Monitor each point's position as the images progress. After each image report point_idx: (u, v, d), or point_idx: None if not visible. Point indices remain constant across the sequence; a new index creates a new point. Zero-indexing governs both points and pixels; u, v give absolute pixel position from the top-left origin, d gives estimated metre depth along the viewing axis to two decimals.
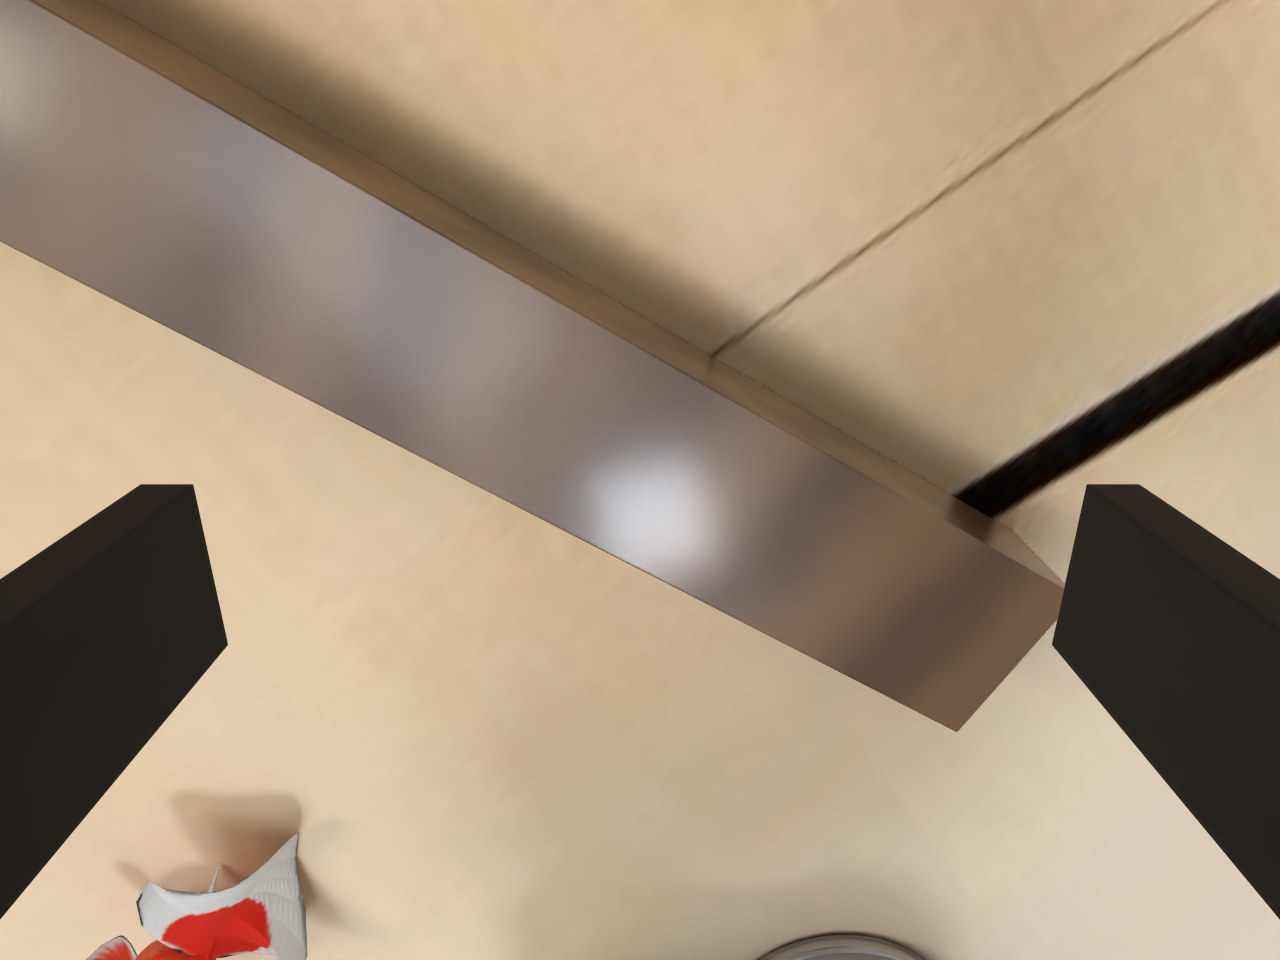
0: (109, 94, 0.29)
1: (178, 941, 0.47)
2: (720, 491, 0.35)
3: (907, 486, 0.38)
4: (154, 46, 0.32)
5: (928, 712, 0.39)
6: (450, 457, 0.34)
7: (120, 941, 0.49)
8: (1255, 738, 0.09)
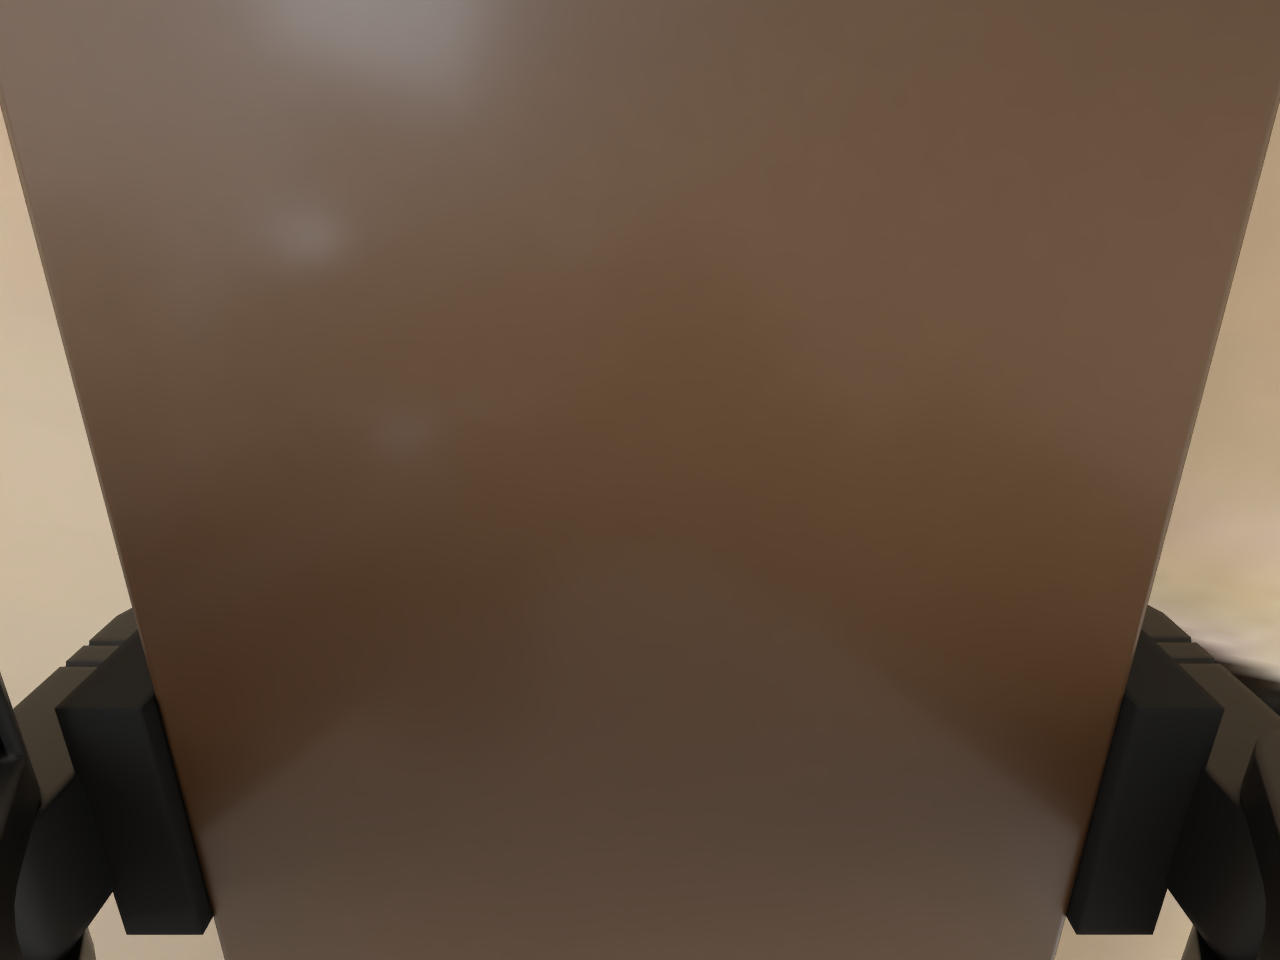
0: None
1: None
2: None
3: None
4: None
5: None
6: None
7: None
8: None
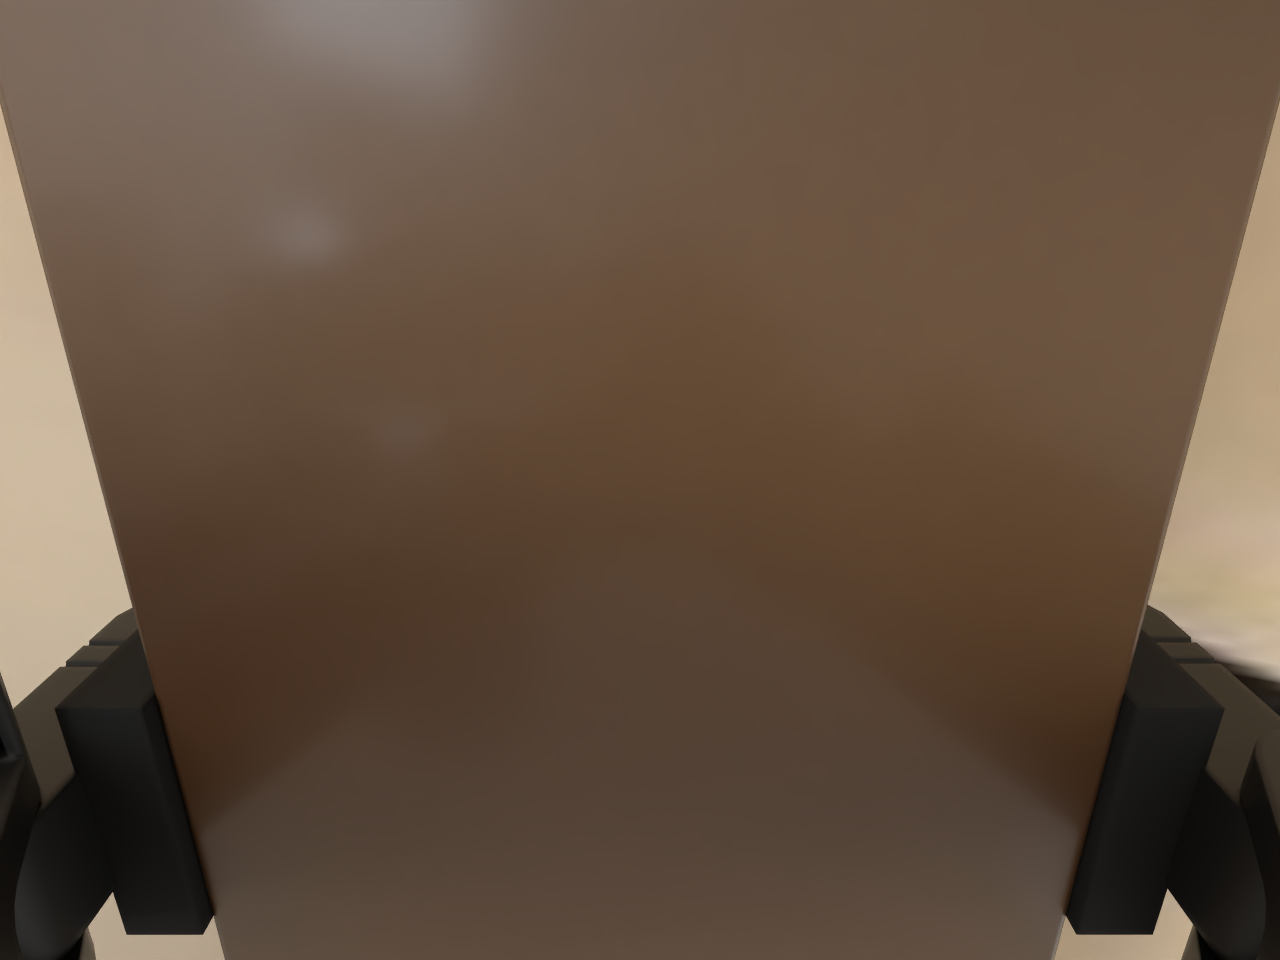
0: None
1: None
2: None
3: None
4: None
5: None
6: None
7: None
8: None
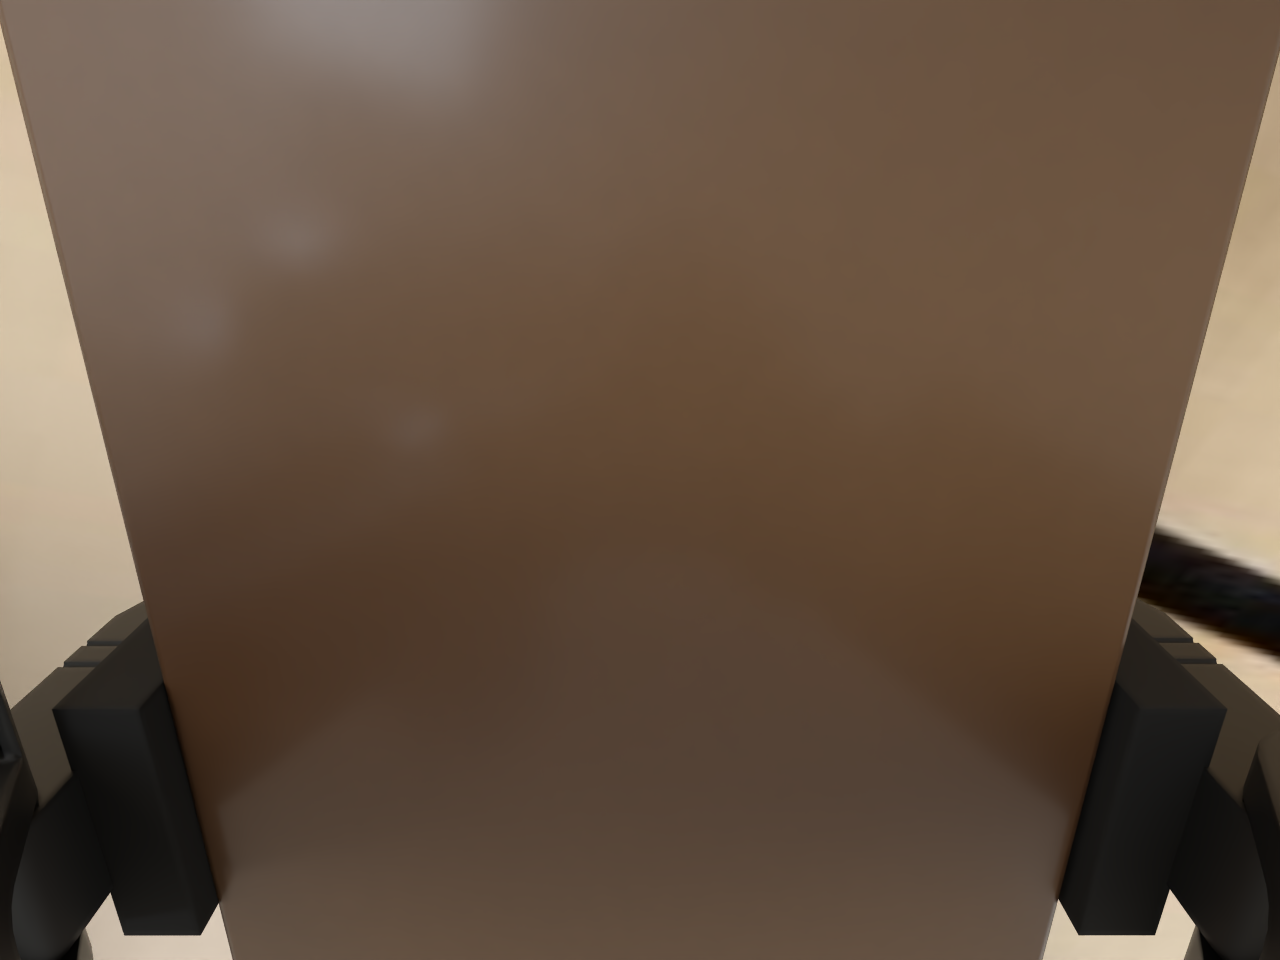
0: None
1: None
2: None
3: None
4: None
5: (253, 954, 0.09)
6: None
7: None
8: None
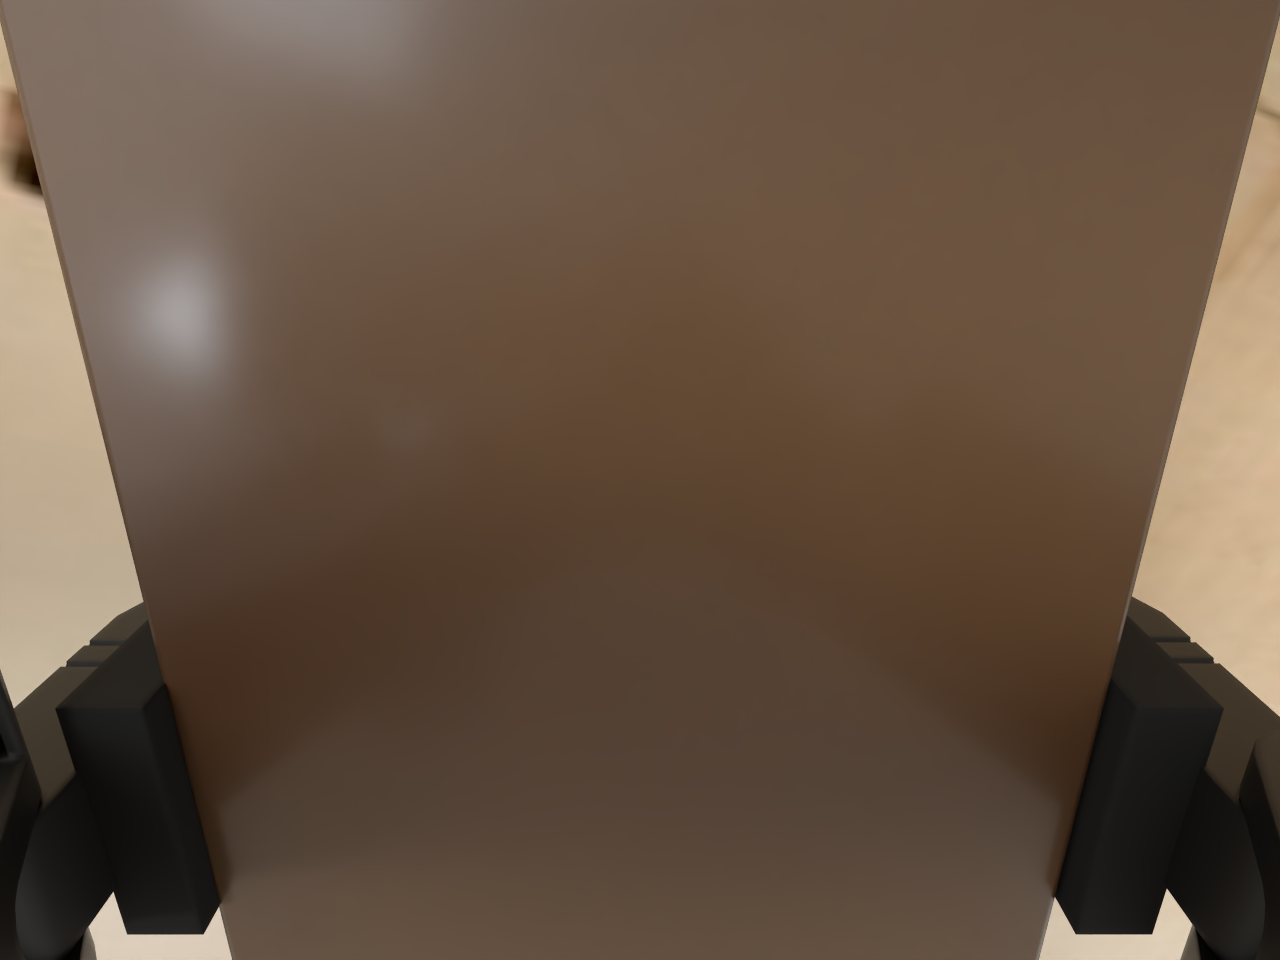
0: None
1: None
2: None
3: None
4: None
5: (251, 954, 0.09)
6: None
7: None
8: None
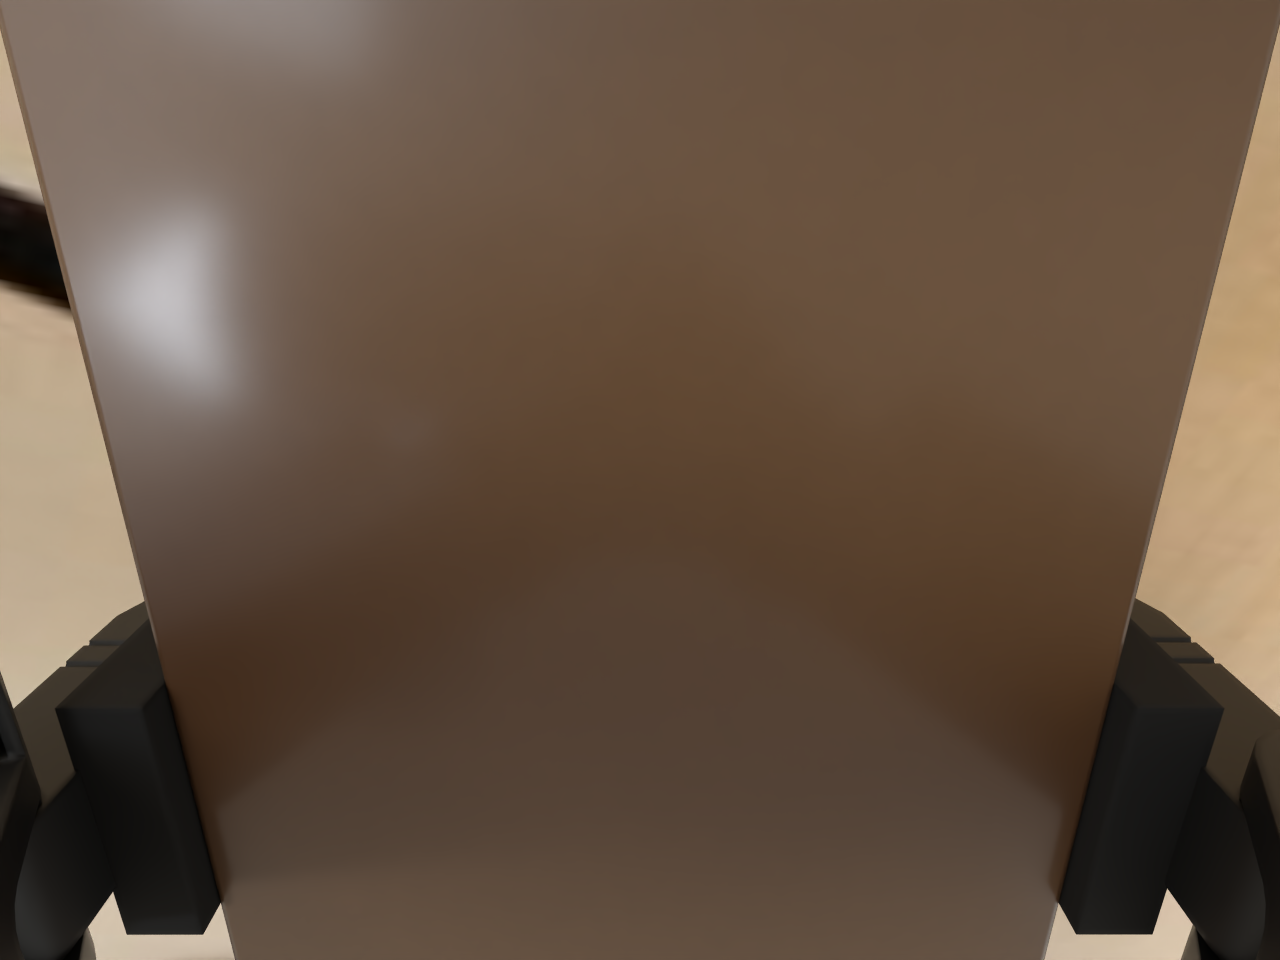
0: None
1: None
2: None
3: None
4: None
5: (255, 955, 0.09)
6: None
7: None
8: None
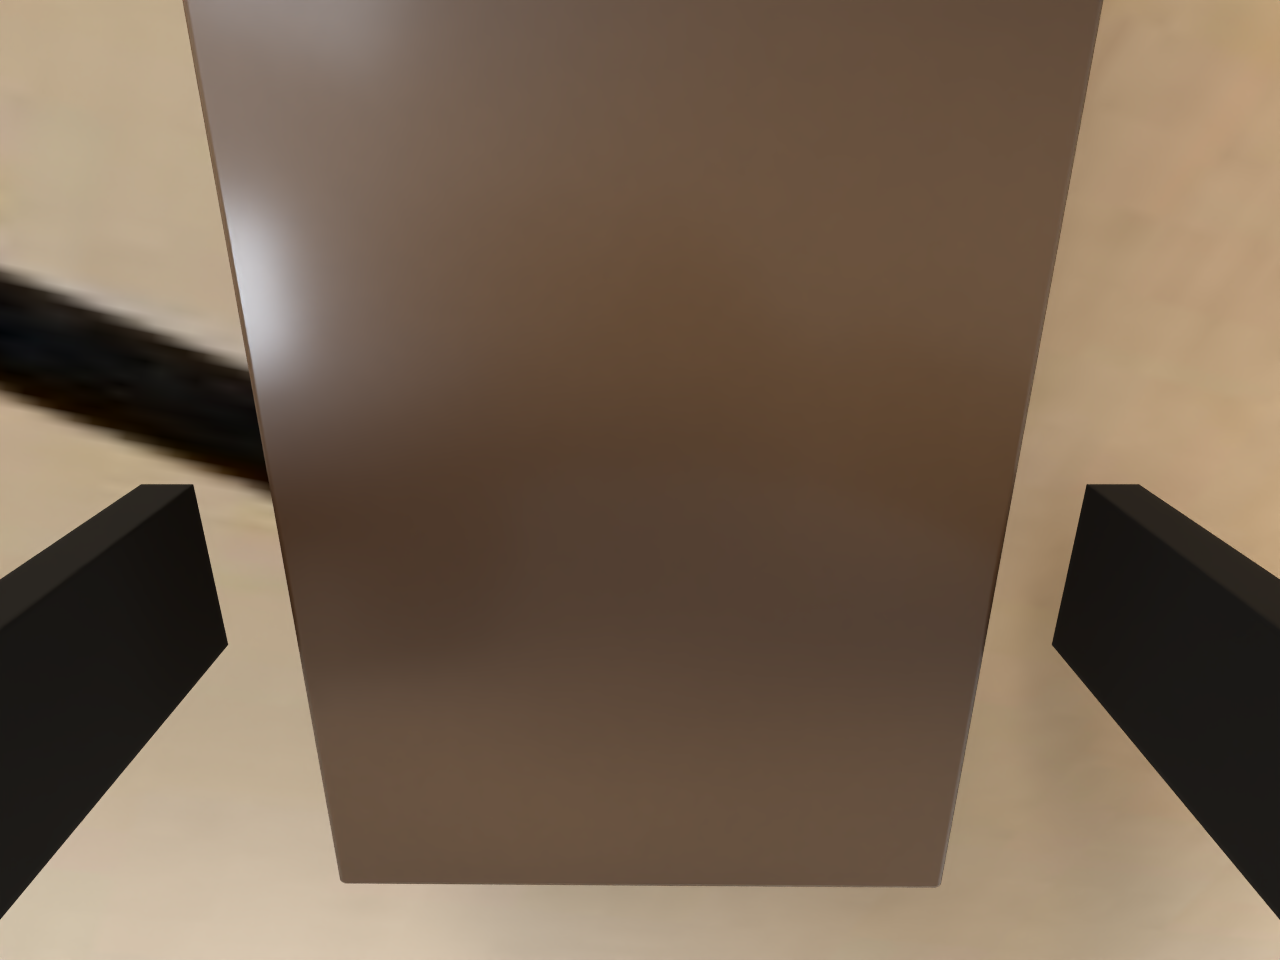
0: None
1: None
2: None
3: None
4: None
5: (339, 779, 0.11)
6: None
7: None
8: (1255, 738, 0.09)
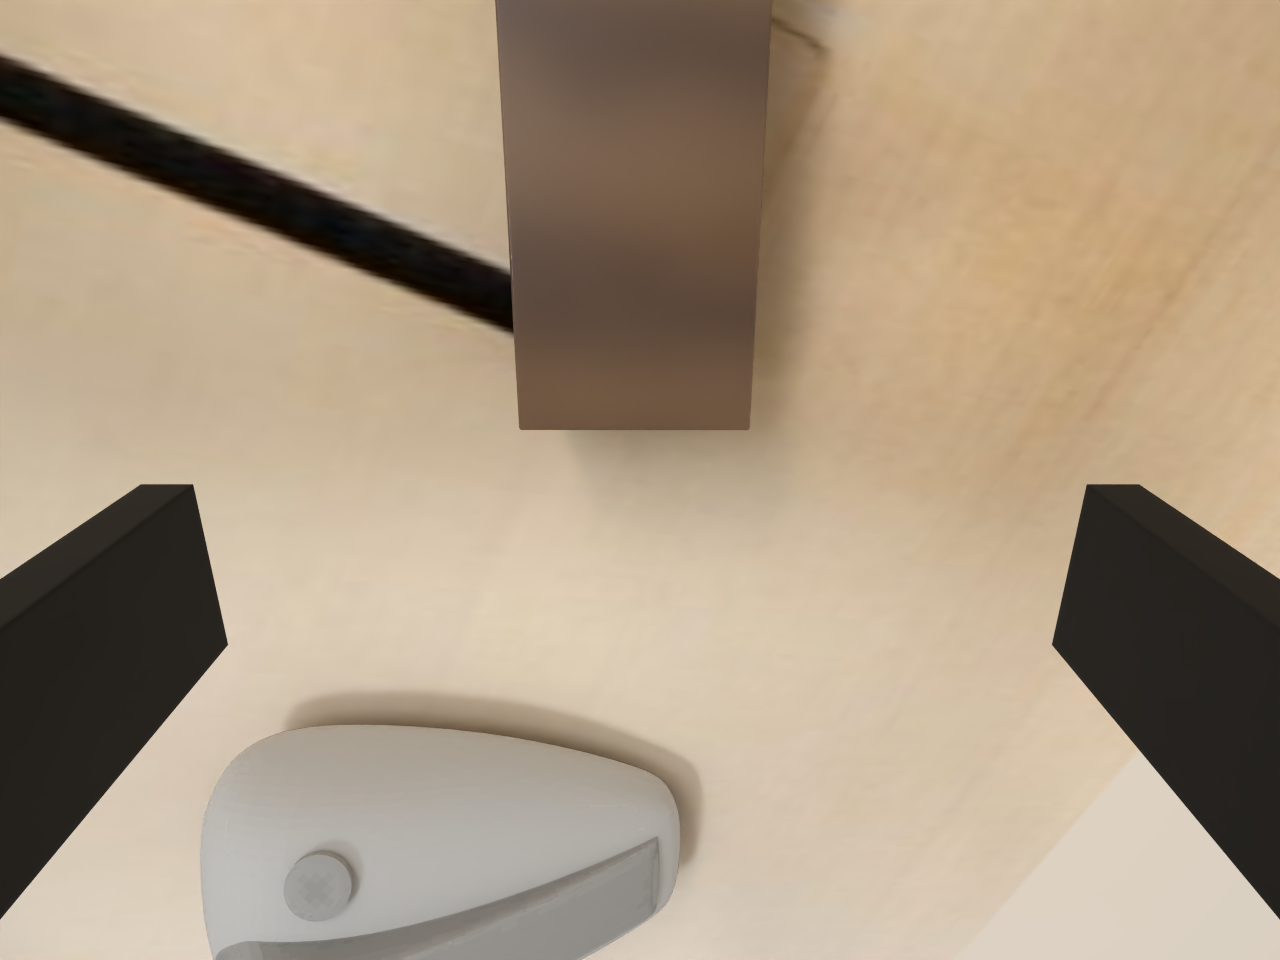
0: None
1: None
2: None
3: None
4: None
5: (523, 379, 0.30)
6: None
7: None
8: (1255, 739, 0.09)
